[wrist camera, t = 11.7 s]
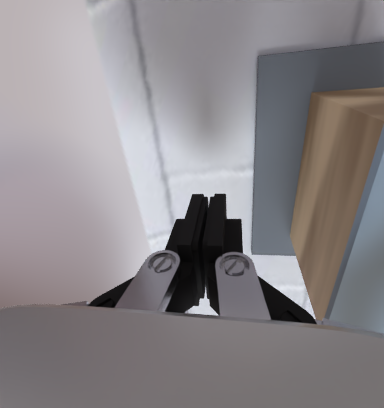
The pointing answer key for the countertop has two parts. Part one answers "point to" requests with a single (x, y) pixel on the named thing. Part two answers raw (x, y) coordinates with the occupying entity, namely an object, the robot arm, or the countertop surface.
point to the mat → (296, 127)
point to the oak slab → (343, 207)
